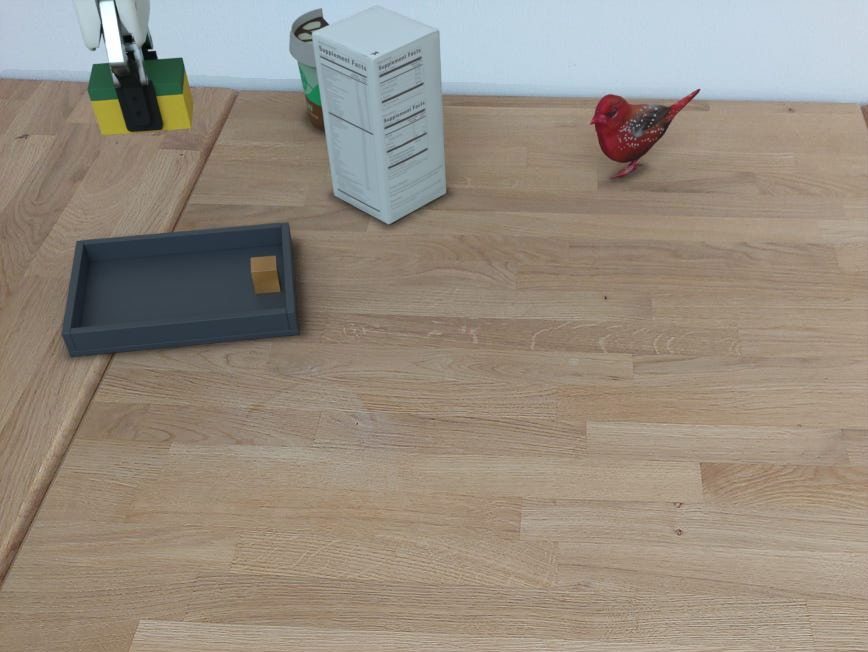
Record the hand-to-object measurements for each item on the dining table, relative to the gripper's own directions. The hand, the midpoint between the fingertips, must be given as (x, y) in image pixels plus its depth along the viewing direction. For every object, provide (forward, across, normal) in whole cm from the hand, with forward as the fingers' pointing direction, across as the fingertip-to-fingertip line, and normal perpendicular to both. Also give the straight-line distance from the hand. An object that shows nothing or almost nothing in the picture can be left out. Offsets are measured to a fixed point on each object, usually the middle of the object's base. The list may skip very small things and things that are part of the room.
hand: (147, 111), depth 88 cm
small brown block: (+15, +6, +8) cm, 18 cm away
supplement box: (+15, -10, +22) cm, 29 cm away
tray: (+15, +6, 0) cm, 16 cm away
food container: (+15, -28, +16) cm, 36 cm away
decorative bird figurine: (+15, -12, +51) cm, 54 cm away
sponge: (+1, 0, 0) cm, 1 cm away
